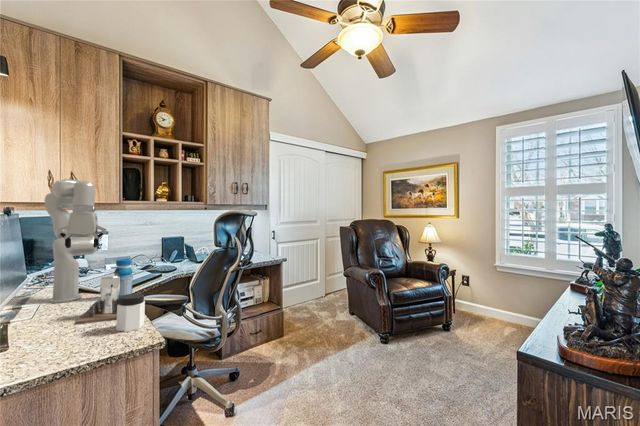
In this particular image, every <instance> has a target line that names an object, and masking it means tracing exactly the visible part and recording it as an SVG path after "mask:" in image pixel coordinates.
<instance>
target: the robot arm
mask: <svg viewBox="0 0 640 426" xmlns="http://www.w3.org/2000/svg"><path fill="white" fill-rule="evenodd" d="M95 197H96V185H95V184H94V183H92V182H89V181H87V180H80V179H79V180H78V179H69V178H67V179H65V178H64V179H60V180H56V181H55V182H54V183H53V186H52V192H49V193H47V194H46V195H45V197H44V208H45V209H46V212H47V214H48V215H49V217H50V218H51V220H52V227H53V233H54V236H55V238H56V239H55V240H54V241H53V242H52V252H53V253H52V254H53V265H54V266H53V281H52V282H53V283H52V284H53V285H52V297H51V298H48V302H47V303H51V304H60V303H61V304H62V303H69V302H75V301H78V300H81V299H82V297H83V296H82V294H79V277H80V263H79V262H78V261H77V259H75V256H76V257H77V256H86V255H88V256H89V255H93V254H95V253H96V252H97V250H98V246H99V244H100V243H99V241H100V238H102V237H103V236H104V234H105V233H106V232H107V228H105V227H102V226H101V225H99V221H98V215H97V212H96V211H99V207H96V206H95V201H96V200H95ZM66 209H72V212H69V210H66ZM99 230H100V231H101V232H100V233H99V232H98V231H99Z"/></svg>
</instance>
